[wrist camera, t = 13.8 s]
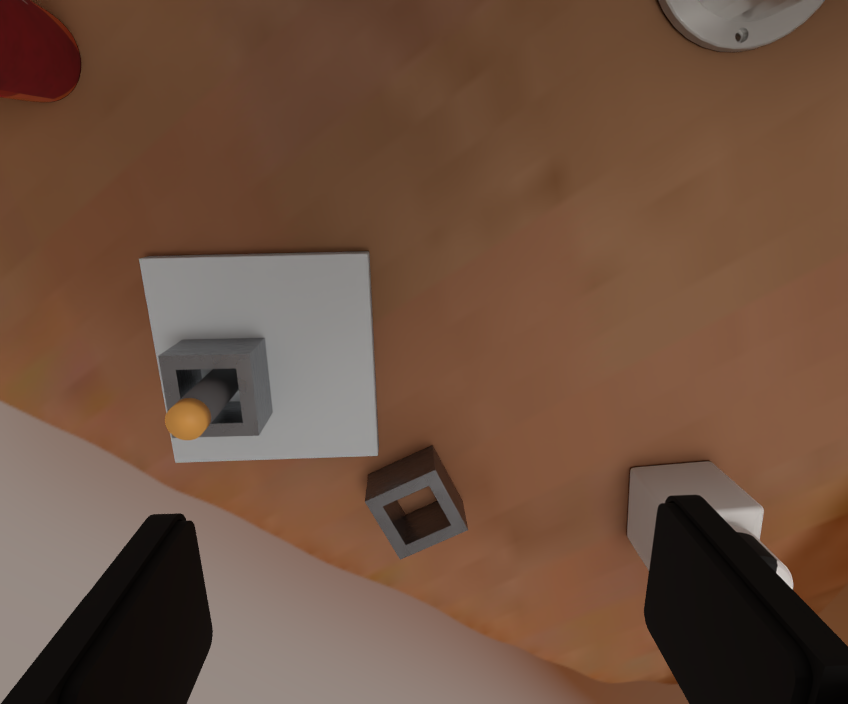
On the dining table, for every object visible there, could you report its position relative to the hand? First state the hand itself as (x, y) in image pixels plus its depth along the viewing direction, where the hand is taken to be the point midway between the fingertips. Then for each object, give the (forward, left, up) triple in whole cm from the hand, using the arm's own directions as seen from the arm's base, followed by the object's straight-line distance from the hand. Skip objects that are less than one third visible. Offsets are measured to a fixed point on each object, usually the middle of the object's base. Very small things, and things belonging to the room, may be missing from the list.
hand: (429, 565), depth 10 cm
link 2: (+17, 0, -30) cm, 35 cm away
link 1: (+6, -14, -29) cm, 33 cm away
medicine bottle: (+19, +22, -31) cm, 42 cm away
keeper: (+5, -11, -30) cm, 33 cm away
